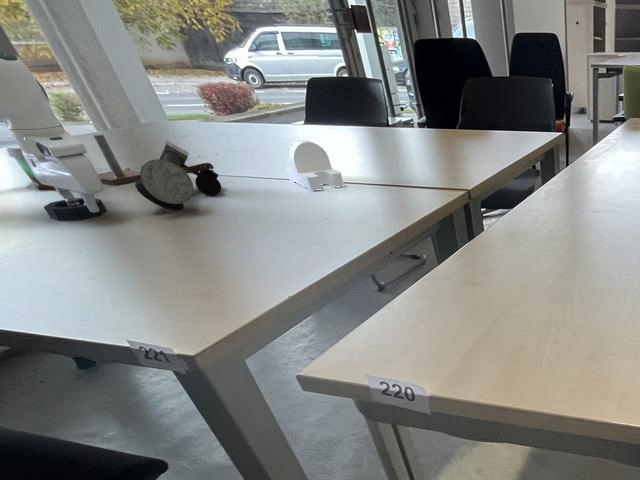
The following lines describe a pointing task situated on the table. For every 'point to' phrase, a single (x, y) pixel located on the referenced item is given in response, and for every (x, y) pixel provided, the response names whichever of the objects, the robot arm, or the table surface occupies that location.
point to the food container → (27, 168)
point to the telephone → (175, 179)
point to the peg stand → (114, 165)
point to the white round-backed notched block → (311, 166)
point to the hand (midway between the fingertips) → (84, 209)
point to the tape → (72, 210)
